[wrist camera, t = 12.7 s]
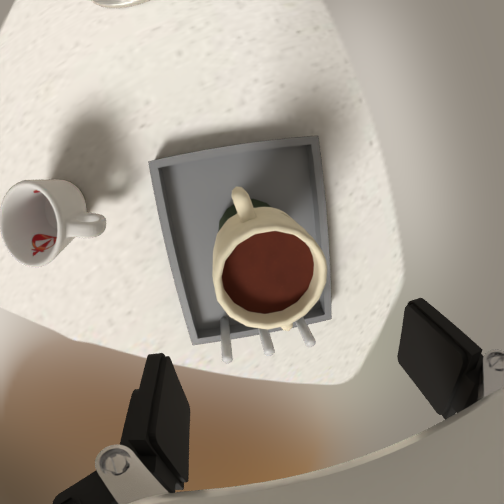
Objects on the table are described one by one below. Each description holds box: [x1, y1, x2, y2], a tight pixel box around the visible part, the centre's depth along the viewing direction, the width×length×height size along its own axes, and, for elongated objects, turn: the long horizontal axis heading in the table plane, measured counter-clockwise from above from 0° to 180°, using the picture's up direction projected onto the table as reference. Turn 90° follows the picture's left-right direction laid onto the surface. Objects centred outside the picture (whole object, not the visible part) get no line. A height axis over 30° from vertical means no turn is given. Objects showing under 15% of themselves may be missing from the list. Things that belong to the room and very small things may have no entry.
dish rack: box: [148, 136, 332, 363], centre depth 28 cm, size 20×16×8 cm
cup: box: [0, 179, 106, 268], centre depth 24 cm, size 11×8×8 cm
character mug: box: [212, 187, 327, 331], centre depth 24 cm, size 11×7×13 cm, turn 19°
